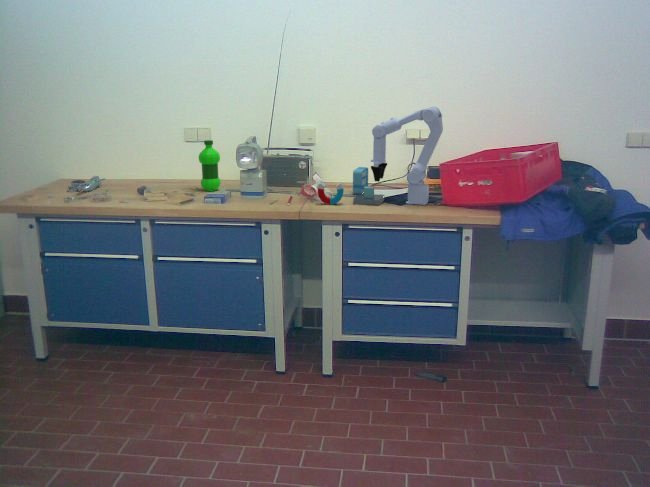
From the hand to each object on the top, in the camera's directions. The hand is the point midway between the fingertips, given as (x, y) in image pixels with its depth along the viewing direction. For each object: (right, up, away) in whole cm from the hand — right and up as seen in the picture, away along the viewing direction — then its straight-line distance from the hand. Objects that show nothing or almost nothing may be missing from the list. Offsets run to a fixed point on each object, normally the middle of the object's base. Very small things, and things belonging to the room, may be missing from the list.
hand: (378, 179), depth 306 cm
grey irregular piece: (-150, -3, +25) cm, 152 cm away
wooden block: (-5, -8, -4) cm, 10 cm away
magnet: (-23, -12, -7) cm, 27 cm away
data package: (-8, -5, +18) cm, 20 cm away
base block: (-5, -11, -3) cm, 12 cm away
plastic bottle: (-83, -3, +24) cm, 87 cm away
